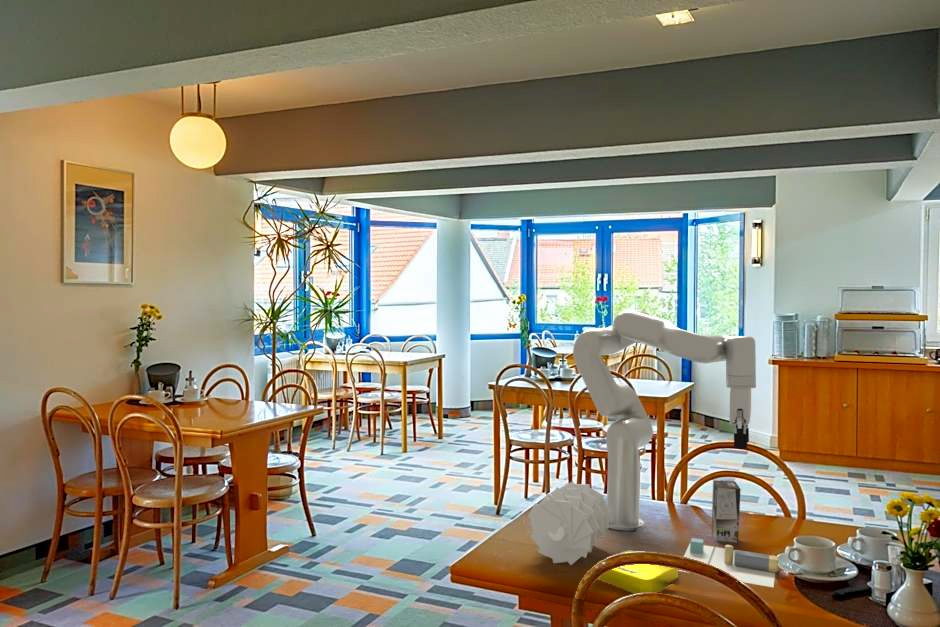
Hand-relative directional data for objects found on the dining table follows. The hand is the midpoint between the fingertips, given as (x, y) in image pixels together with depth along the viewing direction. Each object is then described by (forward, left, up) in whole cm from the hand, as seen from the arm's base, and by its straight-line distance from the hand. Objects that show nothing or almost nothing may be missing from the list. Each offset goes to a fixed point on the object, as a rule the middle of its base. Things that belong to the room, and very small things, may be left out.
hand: (741, 445), depth 199 cm
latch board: (-1, -15, -29) cm, 32 cm away
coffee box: (-4, +7, -29) cm, 30 cm away
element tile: (-20, -33, -30) cm, 49 cm away
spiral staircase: (-40, -24, -29) cm, 55 cm away
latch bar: (+5, -15, -27) cm, 31 cm away
